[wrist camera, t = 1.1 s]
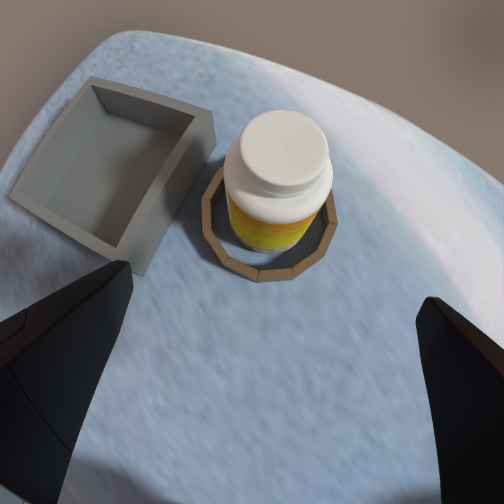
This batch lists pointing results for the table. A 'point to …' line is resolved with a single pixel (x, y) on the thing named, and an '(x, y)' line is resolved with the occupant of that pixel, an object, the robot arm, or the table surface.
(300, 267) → the stud collar
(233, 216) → the supplement bottle
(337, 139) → the table surface
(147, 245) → the bin
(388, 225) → the table surface
